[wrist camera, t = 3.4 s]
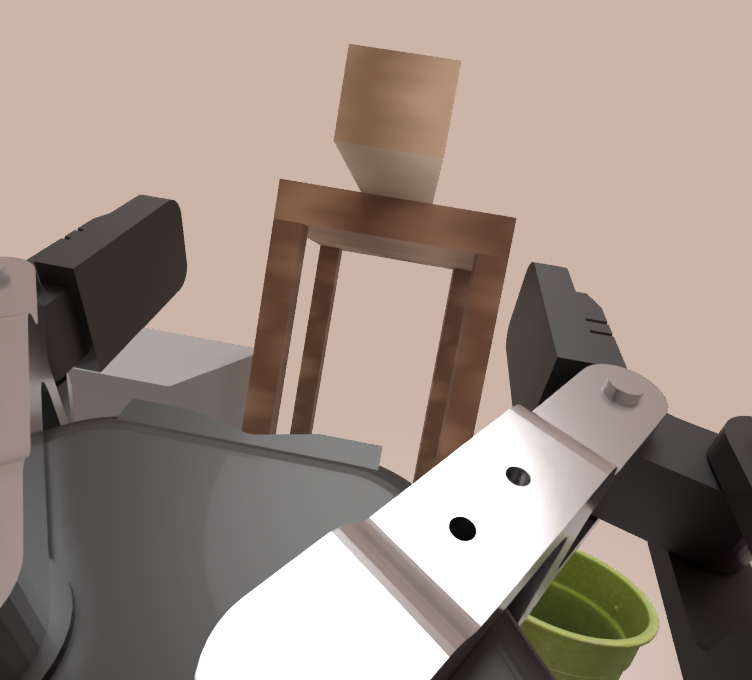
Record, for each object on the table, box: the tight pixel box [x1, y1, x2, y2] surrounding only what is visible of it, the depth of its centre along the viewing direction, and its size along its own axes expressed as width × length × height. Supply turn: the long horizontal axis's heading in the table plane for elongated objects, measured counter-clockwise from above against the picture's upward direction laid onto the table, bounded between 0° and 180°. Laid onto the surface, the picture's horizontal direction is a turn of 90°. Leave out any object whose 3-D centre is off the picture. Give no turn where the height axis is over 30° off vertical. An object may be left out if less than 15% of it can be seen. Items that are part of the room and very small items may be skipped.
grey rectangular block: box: [68, 328, 254, 431], centre depth 29 cm, size 9×14×22 cm, turn 176°
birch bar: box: [334, 44, 461, 204], centre depth 28 cm, size 4×24×3 cm, turn 176°
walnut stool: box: [242, 179, 516, 484], centre depth 34 cm, size 12×15×32 cm
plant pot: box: [520, 549, 659, 680], centre depth 33 cm, size 12×12×11 cm
